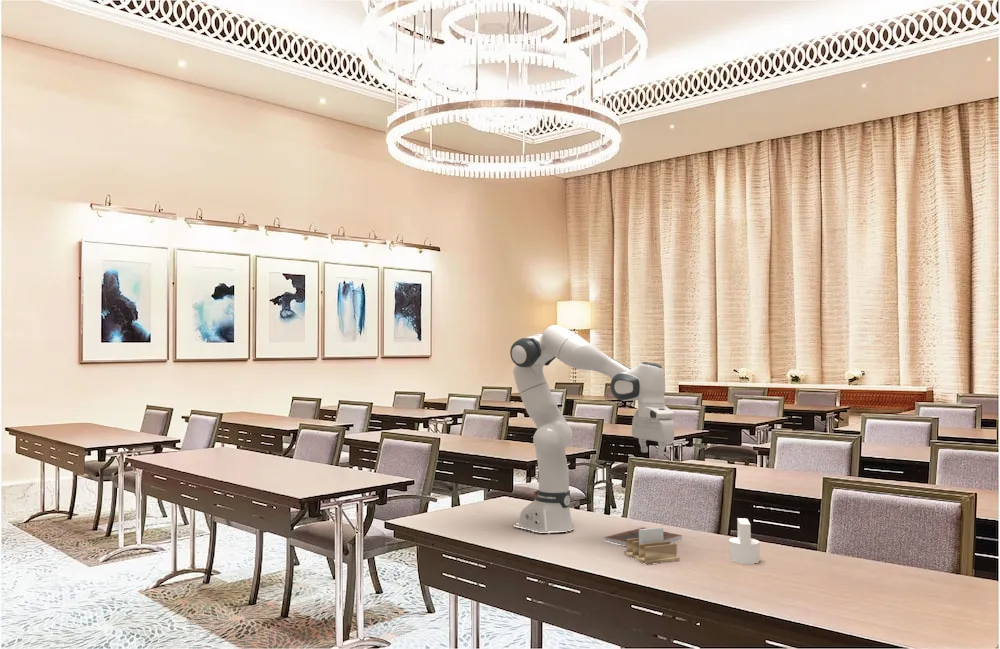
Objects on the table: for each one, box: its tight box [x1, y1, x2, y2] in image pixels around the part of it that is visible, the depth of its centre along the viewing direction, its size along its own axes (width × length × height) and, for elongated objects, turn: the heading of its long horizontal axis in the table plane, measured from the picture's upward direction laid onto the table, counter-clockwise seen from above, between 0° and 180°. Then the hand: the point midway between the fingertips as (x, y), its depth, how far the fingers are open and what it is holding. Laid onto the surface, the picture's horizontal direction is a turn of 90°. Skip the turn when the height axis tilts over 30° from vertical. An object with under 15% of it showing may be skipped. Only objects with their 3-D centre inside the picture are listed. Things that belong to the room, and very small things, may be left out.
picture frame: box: [603, 527, 683, 546], centre depth 259 cm, size 16×2×22 cm
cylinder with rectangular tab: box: [728, 517, 761, 565], centre depth 235 cm, size 9×9×12 cm
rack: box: [623, 538, 681, 565], centre depth 238 cm, size 13×12×5 cm
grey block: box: [638, 526, 664, 544], centre depth 238 cm, size 2×8×8 cm, turn 111°
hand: (652, 454), depth 248 cm, fingers open, 8 cm apart
